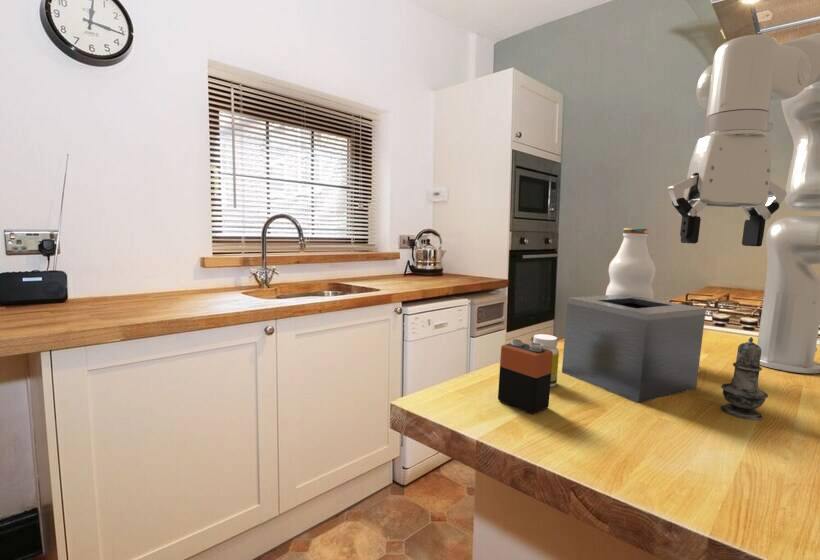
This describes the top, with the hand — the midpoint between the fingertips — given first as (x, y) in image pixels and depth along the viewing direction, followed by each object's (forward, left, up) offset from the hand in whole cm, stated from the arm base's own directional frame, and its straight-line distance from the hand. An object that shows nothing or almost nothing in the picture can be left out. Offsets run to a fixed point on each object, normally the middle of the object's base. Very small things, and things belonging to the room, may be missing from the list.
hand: (720, 244), depth 68 cm
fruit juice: (-13, -24, -26) cm, 38 cm away
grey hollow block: (+1, -13, -26) cm, 29 cm away
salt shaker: (-3, +4, -26) cm, 27 cm away
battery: (+27, -12, -26) cm, 39 cm away
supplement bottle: (+17, -18, -26) cm, 36 cm away
